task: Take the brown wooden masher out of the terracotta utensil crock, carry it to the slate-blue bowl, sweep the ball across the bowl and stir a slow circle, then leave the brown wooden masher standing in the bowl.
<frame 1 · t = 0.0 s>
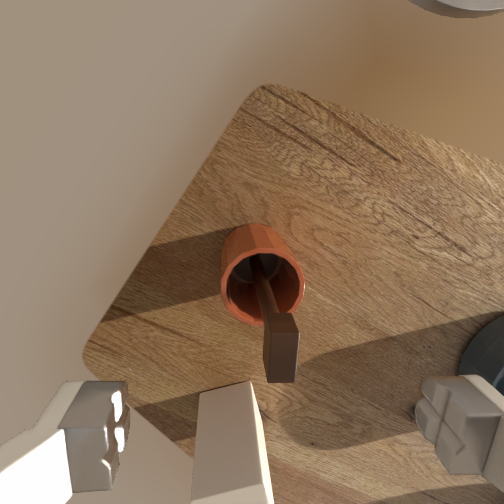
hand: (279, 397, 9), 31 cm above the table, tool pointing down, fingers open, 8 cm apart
milk carton: (231, 405, 48), on the table
brown wooden masher: (253, 256, 41), point 1 cm above the table, touching crock
crock: (253, 255, 41), on the table
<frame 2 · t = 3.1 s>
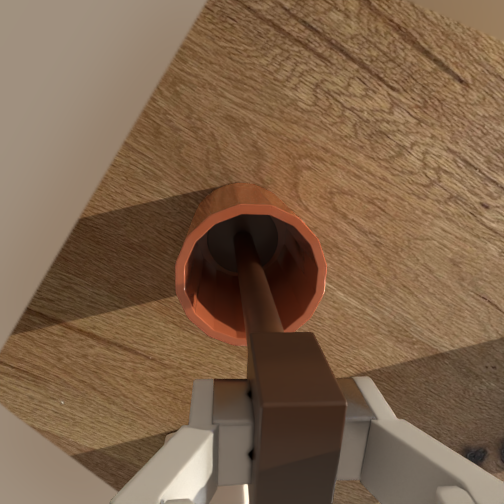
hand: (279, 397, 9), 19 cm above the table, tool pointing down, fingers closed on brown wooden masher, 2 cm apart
milk carton: (212, 450, 34), on the table
brown wooden masher: (241, 234, 27), point 1 cm above the table, touching crock, gripper
crock: (241, 232, 27), on the table
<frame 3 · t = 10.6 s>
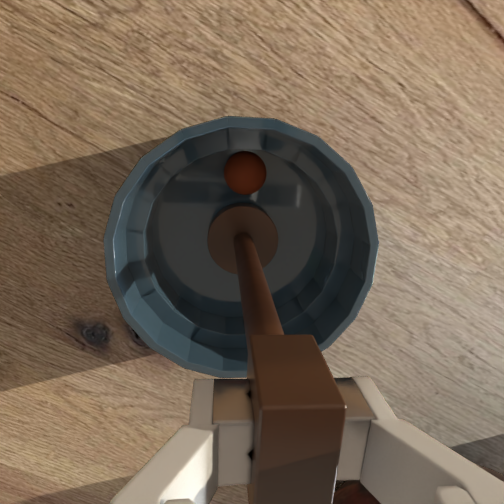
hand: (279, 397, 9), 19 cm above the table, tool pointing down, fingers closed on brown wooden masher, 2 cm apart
bowl: (240, 236, 28), on the table
jug: (391, 499, 39), on the table
ball: (245, 173, 24), point 2 cm above the table, tilted 141°, touching bowl
brown wooden masher: (241, 236, 27), point 1 cm above the table, touching gripper
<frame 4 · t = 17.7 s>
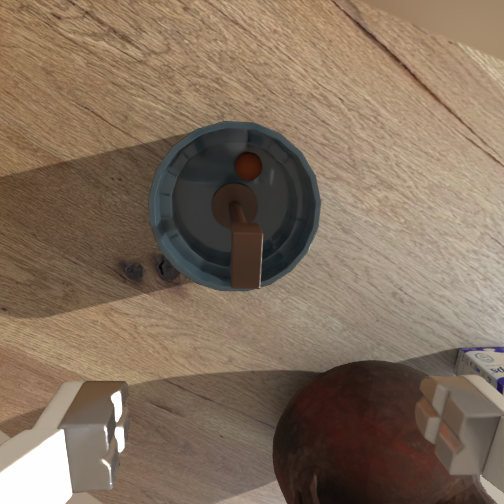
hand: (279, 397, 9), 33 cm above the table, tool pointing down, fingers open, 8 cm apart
bowl: (234, 202, 41), on the table
jug: (347, 405, 52), on the table
ball: (248, 166, 38), point 2 cm above the table, tilted 114°, touching bowl
box: (478, 358, 51), on the table
brown wooden masher: (234, 204, 40), point 1 cm above the table, touching bowl
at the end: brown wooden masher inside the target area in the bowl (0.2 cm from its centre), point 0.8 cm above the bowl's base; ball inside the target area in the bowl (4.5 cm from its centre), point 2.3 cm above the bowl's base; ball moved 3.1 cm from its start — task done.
